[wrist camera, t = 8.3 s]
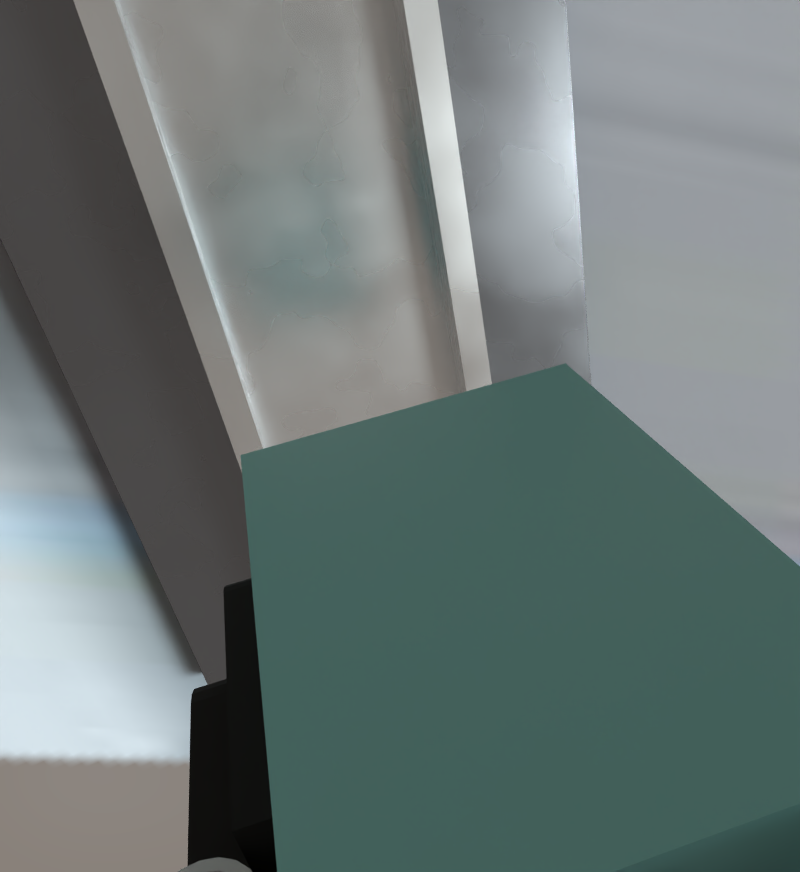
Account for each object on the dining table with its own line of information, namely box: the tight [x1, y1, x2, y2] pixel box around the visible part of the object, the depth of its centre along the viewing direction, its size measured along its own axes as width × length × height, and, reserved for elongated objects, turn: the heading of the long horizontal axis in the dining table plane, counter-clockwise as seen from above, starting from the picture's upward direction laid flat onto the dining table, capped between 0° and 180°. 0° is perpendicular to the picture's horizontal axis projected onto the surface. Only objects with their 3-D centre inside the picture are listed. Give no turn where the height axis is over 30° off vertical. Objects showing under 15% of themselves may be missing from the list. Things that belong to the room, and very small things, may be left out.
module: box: [241, 363, 800, 872], centre depth 9 cm, size 6×5×7 cm
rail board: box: [0, 0, 591, 685], centre depth 22 cm, size 26×16×3 cm, turn 11°
